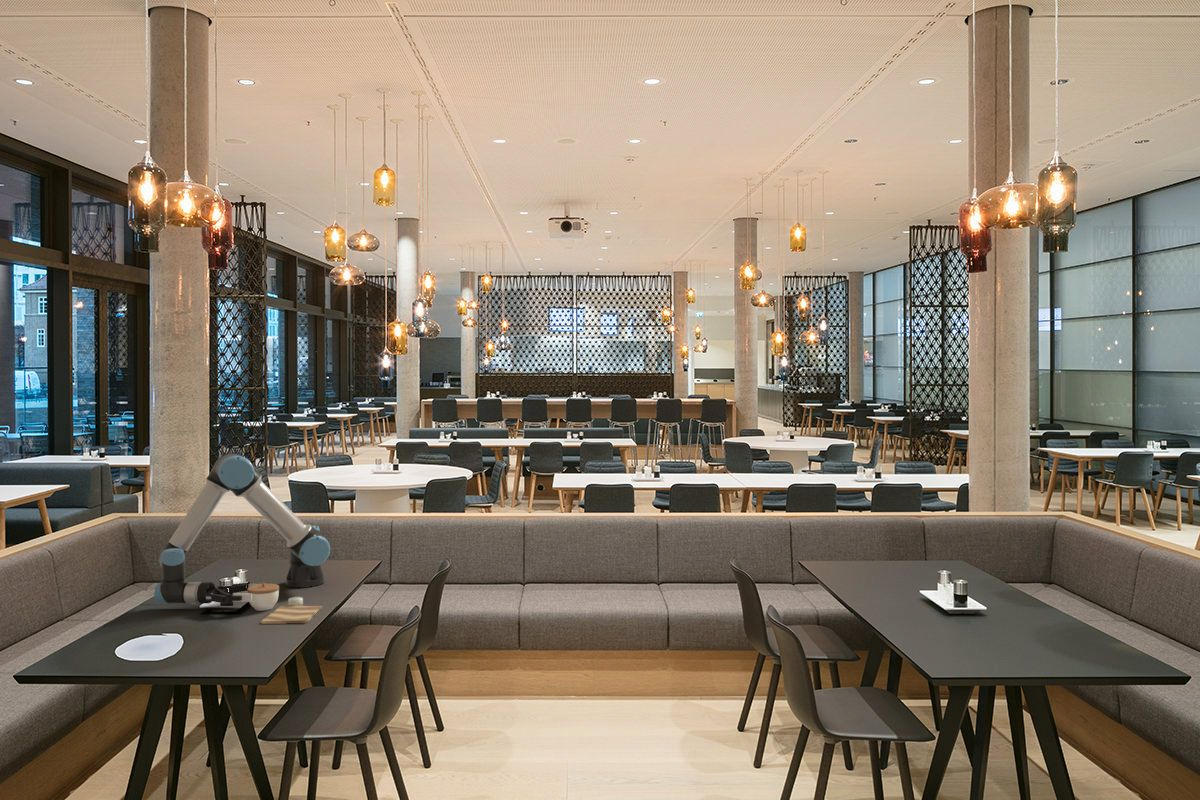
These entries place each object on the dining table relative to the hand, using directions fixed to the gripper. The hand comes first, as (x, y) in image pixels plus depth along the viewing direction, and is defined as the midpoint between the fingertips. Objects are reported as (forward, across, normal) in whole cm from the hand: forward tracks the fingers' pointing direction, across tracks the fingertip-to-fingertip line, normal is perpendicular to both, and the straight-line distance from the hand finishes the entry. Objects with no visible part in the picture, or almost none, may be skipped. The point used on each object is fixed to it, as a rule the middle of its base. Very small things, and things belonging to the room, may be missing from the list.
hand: (259, 592), depth 314 cm
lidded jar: (+1, 0, -6) cm, 6 cm away
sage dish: (+12, -2, -6) cm, 14 cm away
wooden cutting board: (+15, +10, -6) cm, 19 cm away
